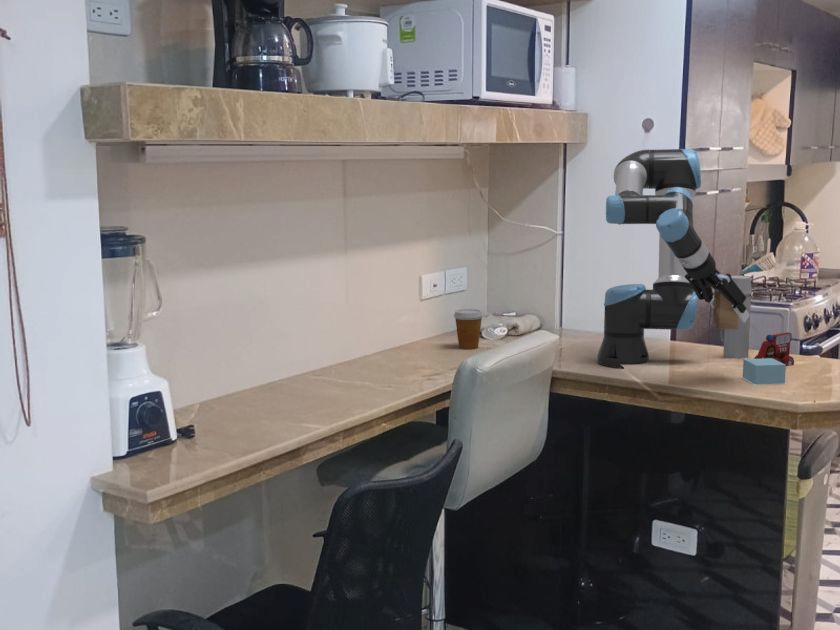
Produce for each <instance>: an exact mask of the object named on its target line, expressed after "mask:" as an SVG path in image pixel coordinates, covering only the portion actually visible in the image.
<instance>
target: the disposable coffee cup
mask: <svg viewBox="0 0 840 630" xmlns="http://www.w3.org/2000/svg"><path fill="white" fill-rule="evenodd" d="M453 316H454V319H455V325H456V327H455V328H456V333H457V340H458V343H457V344H458V348H459V347H460V348H459V349H461V348H463V349H462V350H474V349H475V350H476V349H478V348H479V343H480V336H481V328H482V327H481V326H482V319H483V317H484V314H483V311H482V310H480V309H474V308H470V309H469V308H466V309H465V308H462V309H457V310H455V312H454V314H453Z"/></svg>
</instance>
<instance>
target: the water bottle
mask: <svg viewBox="0 0 840 630" xmlns="http://www.w3.org/2000/svg"><path fill="white" fill-rule="evenodd" d="M731 277H732V280H733V281H734V282H735V284H736V285H737V286H738V287H739V289H740V290H741V291H742V293H743V294H744V295H745V296H746V300H745V301H744V303H743V304H744V306H745V307H746V310H747V311H748V313H749V314H750V316H749V317H748V319H747V320H746V322H745V323H743V322H742V321H741V319H740V318H739V317H738V329H720V331H719V332H720V333H719V334H720V337H719V338H720V341H721V342H723V350H722V351H723V352H722V355H723V356H722V357H723V358H724V359H749V351H750V350H749V349H750V348H749V347H750V328H751V325H750V324H751V307H752V306H751V304H752V303H751V302H752V296H751V295H752V278H751V276H745V275H731ZM723 330H724V331H723ZM723 332H724V333H723Z"/></svg>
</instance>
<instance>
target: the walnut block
mask: <svg viewBox="0 0 840 630" xmlns="http://www.w3.org/2000/svg"><path fill="white" fill-rule="evenodd" d="M713 290H714V291H713V293H714V295H713V297H714V309H713V308H712V310H713V312H712V327H713V328H715V329H718V330H721V329H723V330H724V329H738V317H739V316H738V315H737V313H736V312H735V311H734V309H733V308H732V306H733V304H732V303H731V302H730V301H729V300H728V299H727V298H725V297H724V296H723V295H722V294H721V293H720V292H719V291H718V290H715V289H713Z"/></svg>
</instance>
